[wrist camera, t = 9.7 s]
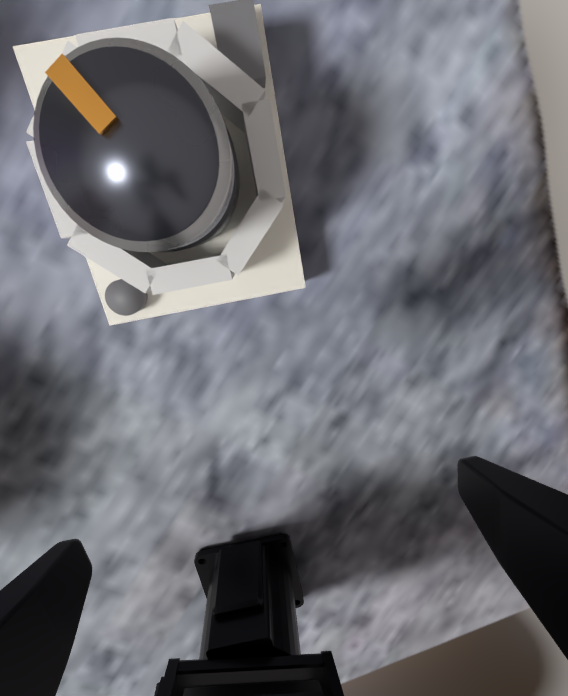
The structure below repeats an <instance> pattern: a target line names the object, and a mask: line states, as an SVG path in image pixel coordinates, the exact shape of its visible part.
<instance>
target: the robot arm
mask: <svg viewBox="0 0 568 696" xmlns="http://www.w3.org/2000/svg"><path fill="white" fill-rule="evenodd" d="M457 467H458V490H459V493H460V496H461V498H462V500H463V502H464V503H465V505H466V507H467V509H468V510H469V512H470V514H471V515H472V517H473V519H474V521H475V522H476V524H477V526H478V528H479V529H480V531H481V533H482V535H483V536H484V538H485V540H486V541H487V543H488V545H489V547H490V548H491V550H492V552H493V553H494V555H495V557H496V558H497V560H498V562H499V563H500V565H501V566H502V568H503V569H504V570H505V572H506V573H507V575H508V576H509V578H510V579H511V580H512V582H513V583H514V585H515V586H516V588H517V589H518V590H519V592H520V593H521V595H522V596H523V597H524V599H525V600H526V602H527V603H528V604H529V606H530V607H531V609H532V610H533V612H534V613H535V614H536V616H537V617H538V618H539V620H540V621H541V623H542V624H543V625H544V627H545V628H546V630H547V631H548V632H549V634H550V635H551V637H552V638H553V639H554V641H555V643H556V644H557V645H558V647H559V648H560V650H561V651H562V652H563V654H564V655H565V657H566V658H567V659H568V495H567V494H565V493H563V492H560V491H558V490H555V489H553V488H551V487H548V486H546V485H544V484H541V483H539V482H537V481H534V480H532V479H529V478H527V477H525V476H522V475H520V474H518V473H515V472H513V471H511V470H508V469H506V468H504V467H501V466H499V465H496V464H494V463H492V462H489V461H487V460H485V459H482V458H480V457H477V456H472V457H467V458H463V459H460V460H459V461H458V465H457ZM282 541H285V542H282ZM194 563H195V566H196V569H197V572H198V575H199V578H200V580H201V583H202V586H203V589H204V592H205V595H206V598H207V604H206V611H205V619H204V627H203V634H202V642H201V650H200V657H199V660H180V658H175V659H169V661H168V665H167V669H166V672H165V676H164V677H161V680H160V682H159V683H158V684H157V686H156V691H155V695H154V696H344V694H343V690H342V687H341V683H340V680H339V677H338V673H337V670H336V666H335V663H334V659H333V656H332V652H331V651H321V654H302V655H301V653H300V644H299V635H298V626H297V617H296V608H298V607H301V606H302V605H303V603H304V600H303V594H302V589H301V585H300V580H299V576H298V572H297V567H296V563H295V558H294V554H293V549H292V545H291V540H290V537H289V536H288V535H287V534H278V535H273V536H268V537H264V538H259V539H254V540H249V541H245V542H240V543H235V544H230V545H226V546H221V547H216V548H211V549H207V550H202V551H199V552H197V553H196V555H195V560H194ZM91 576H92V565H91V562H90V560H89V558H88V556H87V553H86V551H85V549H84V547H83V545H82V543H81V541H80V540H78V539H71V540H66V541H62V542H59V543H57V544H56V545H54V546H53V547H52V548H51V549H50V550H48V551H47V552H46V553H45V554H44V555H42V556H41V557H40V558H39V559H38V560H36V561H35V562H34V563H33V564H32V565H30V566H29V567H28V568H27V569H26V570H24V571H23V572H22V573H21V574H20V575H18V576H17V577H16V578H15V579H14V580H12V581H11V582H10V583H9V584H8V585H6V586H5V587H4V588H3V589H2V590H0V696H55V695H56V693H57V690H58V687H59V684H60V681H61V679H62V676H63V673H64V670H65V668H66V665H67V662H68V659H69V656H70V653H71V649H72V646H73V643H74V639H75V636H76V632H77V628H78V624H79V621H80V617H81V613H82V610H83V606H84V602H85V599H86V595H87V591H88V588H89V584H90V580H91Z"/></svg>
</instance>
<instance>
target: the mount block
mask: <svg viewBox="0 0 568 696" xmlns="http://www.w3.org/2000/svg"><path fill="white" fill-rule="evenodd" d="M209 8H210V13H205V14H199V15H193V16H187V17H181V18H176V19H174V18H169V19H163V20H158V21H152V22H146V23H140V24H134V25H128V26H122V27H117V28H111V29H105V30H99V31H93V32H87V33H82V34H76V35H75V36H70V37H65V38H59V39H53V40H47V41H41V42H35V43H29V44H24V45H18V46H13V49H14V52H15V55H16V58H17V61H18V63H19V66H20V69H21V72H22V75H23V78H24V81H25V84H26V86H27V89H28V92H29V95H30V98H31V101H32V104H33V107H34V109H35V107H36V103H37V99H38V96H39V93H40V90H41V88H42V85H43V84H44V82H45V80H46V78H47V74H46V73H45V72H46V70H47V69H48V68H49V67H50V66H51V65H52V64H53V63H54V62H55V61H56V59H57V58H58V57H59V56H60V55H61V54H63V55H65V56H66V55H67V54H68V53H70V52H71V51H73V50H74V49H76V48H77V47H79V46H82V45H84V44H86V43H89V42H91V41H95V40H99V39H104V38H116V37H118V38H131V39H135V40H140V41H144V42H147V43H150V44H152V45H155V46H157V47H160V48H161V49H163V50H165V51H167V52H169V53H171V54H172V55H174V56H175V57H176V58H178V59H179V60H180V61H182V62H183V63H184V64H186V65H187V66H188V67H189V68H190V69H191V70H192V71H193V72H194V73H195V74H196V75H197V76H198V78H199V79H200V80H201V81H202V82H203V83H204V85H205V86H206V88H207V89H208V91H209V92H210V94H211V95H212V97H213V98H214V100H215V102H216V104H217V106H218V108H219V110H220V112H221V115H222V118H223V120H224V123H225V125H226V127H227V129H228V131H229V133H230V136H231V139H232V141H233V145H234V149H235V153H236V157H237V161H238V166H239V174H240V189H239V198H238V203H237V207H236V210H235V212H234V215H233V217H232V219H231V220H230V222H229V223H228V225H227V226H226V227H225V228H224V229H223V230H222V231H221V232H220V233H219V234H218V235H217V236H215V237H214V238H212V239H211V240H209V241H207V242H206V243H204V244H202V245H199V246H197V247H193V248H189V249H185V250H180V251H175V252H136V251H130V250H125V249H121V248H118V247H114V246H112V245H110V244H107V243H105V242H103V241H101V240H99V239H97V238H96V237H94V236H92V235H91V234H89V233H88V232H86V231H85V230H84V229H82V228H81V227H80V226H79V225H78V224H77V223H75V222H74V221H73V220H72V219H71V218H70V217H69V216H68V215H67V213H66V212H65V211H64V210H63V209H62V208H61V206H60V205H59V204H58V202H57V201H56V199H55V198H54V197H53V195H52V193H51V191H50V190H49V188H48V186H47V184H46V182H45V180H44V177H43V175H42V173H41V170H40V167H39V163H38V160H37V157H36V151H35V145H34V141H28V142H26V143H27V146H28V148H29V151H30V154H31V157H32V159H33V162H34V165H35V168H36V170H37V173H38V176H39V179H40V181H41V184H42V187H43V190H44V192H45V195H46V198H47V201H48V203H49V206H50V209H51V212H52V214H53V217H54V220H55V223H56V225H57V228H58V231H59V234H60V236H61V238H70V240H69V242H68V244H67V246H69V247H70V248H72V249H74V250H75V251H77V252H79V253H80V254H82V255H83V256H85V257H86V259H87V262H88V265H89V267H90V270H91V273H92V276H93V279H94V282H95V285H96V288H97V290H98V293H99V296H100V299H101V302H102V305H103V308H104V311H105V313H106V316H107V319H108V322H109V325H115V324H120V323H125V322H130V321H135V320H141V319H146V318H151V317H156V316H161V315H166V314H172V313H177V312H182V311H187V310H192V309H198V308H203V307H208V306H213V305H218V304H224V303H229V302H234V301H239V300H244V299H250V298H255V297H260V296H265V295H270V294H275V293H281V292H286V291H291V290H296V289H301V288H305V281H304V275H303V269H302V262H301V256H300V250H299V243H298V237H297V231H296V225H295V218H294V212H293V206H292V199H291V193H290V187H289V180H288V174H287V168H286V162H285V155H284V149H283V143H282V136H281V130H280V124H279V117H278V111H277V105H276V99H275V92H274V86H273V80H272V73H271V67H270V61H269V54H268V48H267V42H266V36H265V29H264V23H263V17H262V10H261V4H257V5H254V1H253V0H237V1H231V2H225V3H219V4H213V5H209ZM33 123H34V116H33V118H32V120H31V123H30V125H29V127H28V129H27V131H26V132H27V133H28V134H30V135H31V136H32V137H34V134H33Z"/></svg>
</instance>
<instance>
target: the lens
mask: <svg viewBox="0 0 568 696" xmlns="http://www.w3.org/2000/svg"><path fill="white" fill-rule="evenodd" d="M45 73H46V74H47V78H46V80H45V82H44V84H43V85H42V88H41V90H40V93H39V96H38V99H37V103H36V107H35V112H34V123H33V134H34V145H35V151H36V157H37V160H38V163H39V167H40V170H41V173H42V175H43V177H44V180H45V182H46V184H47V186H48V188H49V190H50V191H51V193H52V195H53V197H54V198H55V199H56V201H57V202H58V204H59V205H60V206H61V208H62V209H63V210H64V211H65V212H66V213H67V215H68V216H69V217H70V218H71V219H72V220H73V221H74V222H75V223H77V224H78V225H79V226H80V227H81V228H82V229H84V230H85V231H86V232H88V233H89V234H91V235H92V236H94V237H96V238H97V239H99V240H101V241H103V242H105V243H107V244H110V245H112V246H114V247H118V248H121V249H125V250H130V251H136V252H175V251H180V250H185V249H189V248H193V247H197V246H199V245H202V244H204V243H206V242H207V241H209V240H211V239H212V238H214V237H215V236H217V235H218V234H219V233H220V232H221V231H222V230H223V229H224V228H225V227H226V226H227V225H228V223H229V222H230V220H231V219H232V217H233V215H234V212H235V210H236V207H237V203H238V198H239V189H240V174H239V166H238V161H237V157H236V153H235V149H234V145H233V141H232V139H231V136H230V133H229V131H228V129H227V127H226V125H225V123H224V120H223V118H222V115H221V112H220V110H219V108H218V106H217V104H216V102H215V100H214V98H213V97H212V95H211V94H210V92H209V91H208V89H207V88H206V86H205V85H204V83H203V82H202V81H201V80H200V79H199V78H198V76H197V75H196V74H195V73H194V72H193V71H192V70H191V69H190V68H189V67H188V66H187V65H186V64H184V63H183V62H182V61H180V60H179V59H178V58H176V57H175V56H174V55H172V54H171V53H169V52H167V51H165V50H163V49H161V48H160V47H157V46H155V45H152V44H150V43H147V42H144V41H140V40H135V39H131V38H118V37H116V38H104V39H99V40H95V41H91V42H89V43H86V44H84V45H82V46H79V47H77V48H76V49H74V50H73V51H71V52H70V53H68V54H67V55H66V56H65V55H63V54H61V55H60V56H59V57H58V58H57V59H56V61H55V62H54V63H53V64H52V65H51V66H50V67H49V68H48V69H47V70H46V72H45Z"/></svg>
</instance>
